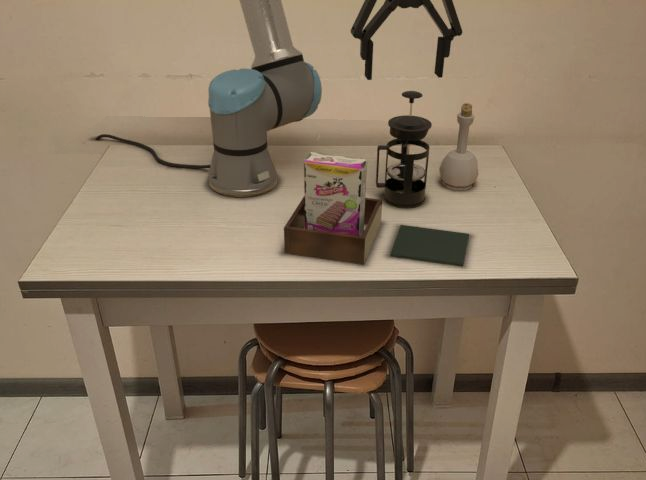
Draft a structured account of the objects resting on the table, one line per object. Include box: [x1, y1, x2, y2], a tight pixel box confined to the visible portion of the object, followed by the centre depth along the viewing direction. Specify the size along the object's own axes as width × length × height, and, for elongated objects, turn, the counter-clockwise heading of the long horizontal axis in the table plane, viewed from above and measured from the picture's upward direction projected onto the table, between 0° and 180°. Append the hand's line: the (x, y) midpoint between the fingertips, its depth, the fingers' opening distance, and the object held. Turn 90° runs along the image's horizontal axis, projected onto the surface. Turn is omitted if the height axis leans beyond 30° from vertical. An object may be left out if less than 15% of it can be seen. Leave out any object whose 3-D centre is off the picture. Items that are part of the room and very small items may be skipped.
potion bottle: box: [439, 102, 479, 191], centre depth 154 cm, size 9×9×18 cm
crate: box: [283, 195, 383, 265], centre depth 137 cm, size 16×17×6 cm
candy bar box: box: [303, 151, 368, 236], centre depth 133 cm, size 11×5×16 cm, turn 77°
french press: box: [375, 90, 433, 209], centre depth 146 cm, size 12×9×23 cm
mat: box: [389, 224, 470, 267], centre depth 137 cm, size 14×12×1 cm
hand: (403, 76), depth 130 cm, fingers open, 13 cm apart
